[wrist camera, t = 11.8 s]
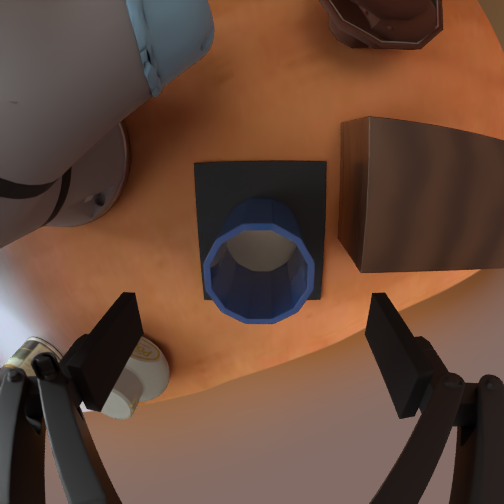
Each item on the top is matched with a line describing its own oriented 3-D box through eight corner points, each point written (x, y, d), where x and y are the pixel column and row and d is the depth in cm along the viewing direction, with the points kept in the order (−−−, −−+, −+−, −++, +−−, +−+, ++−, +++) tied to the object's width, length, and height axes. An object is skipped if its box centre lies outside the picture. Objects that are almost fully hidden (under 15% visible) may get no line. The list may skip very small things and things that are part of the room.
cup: (224, 272, 34) (208, 323, 24) (220, 198, 31) (200, 224, 21) (299, 272, 33) (310, 323, 24) (301, 197, 30) (316, 223, 21)
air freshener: (181, 349, 38) (160, 404, 29) (166, 387, 41) (147, 439, 31) (106, 314, 37) (69, 360, 27) (98, 355, 40) (68, 401, 30)
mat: (204, 298, 35) (204, 299, 35) (194, 163, 30) (193, 163, 30) (319, 298, 34) (320, 299, 34) (325, 161, 29) (326, 161, 29)
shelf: (337, 238, 32) (360, 273, 24) (340, 122, 28) (368, 116, 19) (460, 239, 31) (503, 268, 23) (469, 139, 27) (519, 144, 19)
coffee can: (29, 369, 43) (-10, 417, 30) (21, 327, 39) (-28, 376, 26) (73, 393, 44) (38, 449, 30) (69, 352, 40) (23, 413, 27)
